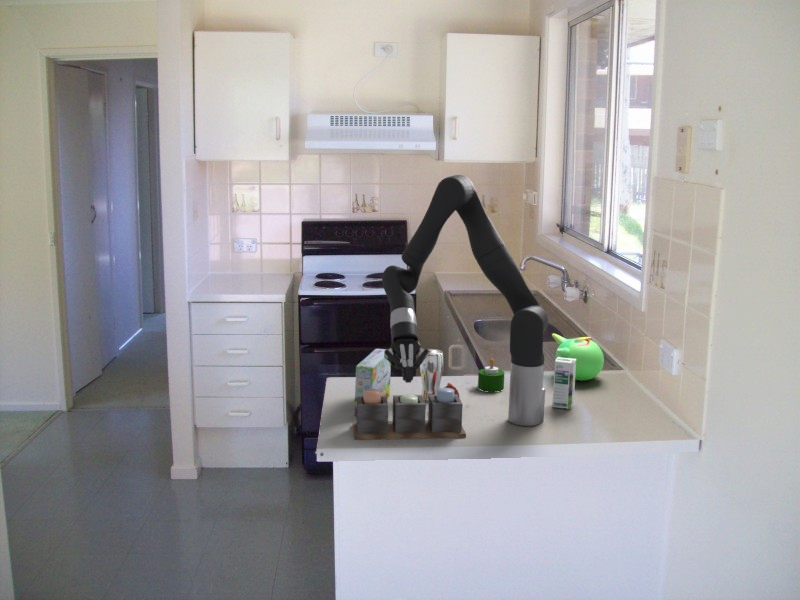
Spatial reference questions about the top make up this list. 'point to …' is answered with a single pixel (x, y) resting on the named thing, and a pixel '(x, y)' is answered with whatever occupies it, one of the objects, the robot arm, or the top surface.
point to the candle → (491, 378)
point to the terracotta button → (372, 396)
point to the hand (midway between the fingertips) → (408, 381)
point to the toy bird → (581, 355)
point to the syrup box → (564, 383)
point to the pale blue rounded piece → (445, 395)
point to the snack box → (373, 375)
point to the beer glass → (431, 373)
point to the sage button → (408, 399)
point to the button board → (409, 419)
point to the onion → (452, 388)
